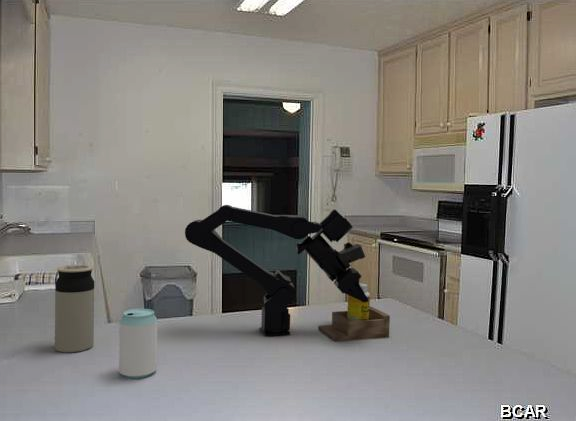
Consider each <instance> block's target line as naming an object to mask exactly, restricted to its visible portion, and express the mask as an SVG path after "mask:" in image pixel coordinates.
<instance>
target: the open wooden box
mask: <svg viewBox="0 0 576 421" xmlns="http://www.w3.org/2000/svg"><path fill="white" fill-rule="evenodd" d="M331 316H332V317H331V324H327V325H318V328H317V329H319V330H318V331H320V332H321V333H322V332H323V333H322V334H324V335H325V336H326V335H327V336H326V337H328V338H329V339H330V340H332V341H333V342H343V341H344V342H345V341H346V342H347V341H358V340H370V339H382V338H390V320H391V317H390V316H391V315H389V314H388V313H386V312H384V311H381V310H379V309H377V308H375V307H373V306H371V305H369V320H361V321H350V320H348V319H347V310H343V311H331Z"/></svg>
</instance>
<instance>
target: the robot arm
mask: <svg viewBox="0 0 576 421" xmlns="http://www.w3.org/2000/svg"><path fill="white" fill-rule="evenodd" d="M226 222H231V223H232V222H233V223H238V224H242V225H246V226H251V227H257V228H263V229H267V230H272V231H275V232H277V233H279V234H282V235H283V236H287V237H289V238H292V239H294V240H302V241H301V242H296V243H295V245H296V249H295V252H296V253H297V255H301V253H303V252H305V253H306V254H307V255H308V256H309V257H310V259H311V260H312V261H313V262H315V264H317V266H318V267H319V268H320V269H321V270H322V271H323V272H324V273H325V275H326V277H327V278H328V279H329V280H330V281H331V282H333V284H334V285H335V287H336V288H337V289H338V290H339V291H340V292H341V293H342V294H346V295H347V296H348V295H350V296H352V297H354V298H356V299H358V300H360V301H363V302H365V303H366V302H367V301H368V298H367V297H366V295H365V293H364V292H363V290H362V288H361V286H360V285H359V283H360V279H362V274H360V273H359V271H358V270H357V269H355V268H353V267H351V266H352V265H351V263H355V262H356V261H358V260H362V259H364V258H366V254H365V253H364V250H363V247H362V245H361V244H359V243H355V244H354V245H353V243H351V242H346V243H344V244H343V249H341V250H340V251H338V250H336V248H335V249H334V247H332V245H330V243H332V242H336V243H339V242H340V240H341V239H342V238H344V236H346V235H347V234H348V233H349V232H350V231H352V230H353V229H354V227H353V225H352V224H351V222H350V221H349V220H348V219H347V218H345V217H344V216H343V215H342V214H341V213H340V212H338V210H337V209H332V210H331V211H330V212H329V213H328V215H327V216H325V217H324V218H323V219H322V220H321V221H320V222H317V221H309V220H308V219H307V218H305V217H304V216H302V215H298V214H270V213H266V212H260V211H256V210H252V209H245V208H240V207H236V206H232V205H229V204H224V205H222V206H220V207H219V208H218V209H217V210H216V211H214V212H213V213H211V214H210V215H208V216H207V217H205V218H203V219H196V220H193V221H192V222H190V223H188V224H187V225H186V227H185V230H184V236H185V238H186V240H187V242H188V243H190V244H192V245H194V246H196V247H198V248H200V249H203V250H205V251H207V252H208V251H209V252H210V253H214V254H215V255H216V256H218V257H219V258H220V259H222V260H224V261H225V262H227V263H228V264H229V265H231V266H232V267H234V268H235V269H237V270H238V271H240V272H241V273H242V274H244V275H245V276H247V277H248V278H250V280H253V281H254V282H255V283H257V284H258V285H260V287H261V288H262V289H263V290H264V291H265V293H266V294H265V295H264V296H263V303H264V304H263V306H261V324H260V327H259V328H258V329H259V331H260V332H261V333H262V334H263V335H264V336H266V337H270V336H272V337H273V336H285V335H286V336H288V335H291V331H290V330H291V314H290V313H289V308H288V305H290V304H291V303H292V302H294V300H295V298H296V289H295V286H294V283H293V281H292V280H291V277H290V276H287V275H285V274H283V273H282V272H281V271H280V270H279V269H278V268H277V269H276V271H275V272H272V271H269V270H267V269H266V268H264V267H263V266H261V265H260V264H258V263H257V262H255V261H254V260H253V259H251V258H249V256H247V255H245V254H244V253H243V252H241V251H240V250H239V249H237V248H235V247H234V246H233V245H231V244H230V243H229V242H227V241H225V240H224V239H223V237H221V236H220V235H219V233H218V232H217V231H216V229H218V228H219V227H220V226H222V225H223V224H225V223H226ZM312 234H313V236H310V235H312ZM322 235H323V236H324V237H325V238H326V239H327V240H328V241H329V242H330V243H329V242H328V241H327V240H326V239H325V238H324V237H323V236H322Z"/></svg>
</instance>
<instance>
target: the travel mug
mask: <svg viewBox="0 0 576 421" xmlns="http://www.w3.org/2000/svg"><path fill="white" fill-rule="evenodd" d="M93 270H94V266H92V265H88V264H87V265H86V264H71V265H70V264H67V265H62V266H58V267H57V268H56V271H57V274H58V278H56V281H55V283H54V284H55V286H54V287H55V288H54V289H55V290H54V306H55V307H54V349H55V350H56V351H58V352H61V353H69V354H70V353H79V352H80V353H81V352H83V351H86V350H89V349H90V348H92V347H93V346H94V343H95V342H94V341H95V336H94V335H95V334H94V333H95V280H94V278H93V276H92V271H93Z"/></svg>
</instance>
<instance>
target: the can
mask: <svg viewBox="0 0 576 421" xmlns="http://www.w3.org/2000/svg"><path fill="white" fill-rule="evenodd" d="M118 336H119V337H118V338H119V340H118V342H119V345H118V346H119V350H118V355H119V356H118V373H120V374H121V375H122V376H124V377H126V378H128V379H141V378H142V379H143V378H146V377H149V376H150V375H152V374H153V373H154V372H156V371H157V370H158V369H157V368H158V364H157V362H158V318H157V317H156V315H155V311H154V310H153V309H151V308H133V309H129V310H128V309H127V310H125V311H124V312H123V315H122V317H121V319H120V321H119V335H118Z"/></svg>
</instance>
